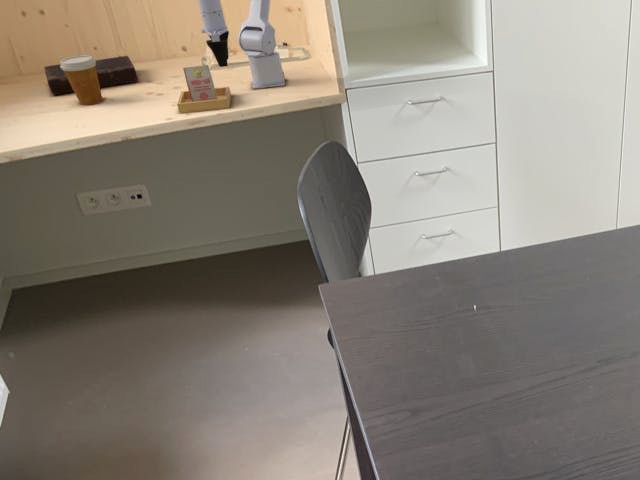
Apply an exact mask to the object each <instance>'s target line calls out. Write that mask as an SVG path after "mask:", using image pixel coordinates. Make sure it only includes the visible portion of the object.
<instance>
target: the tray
mask: <svg viewBox="0 0 640 480" xmlns="http://www.w3.org/2000/svg"><path fill="white" fill-rule="evenodd" d="M215 91H216V95H217V99H215V100H206V101H196V102H192V100H191V97H190V93H189V90H184V91H183V90H182V91H180V95H179V98H178V100H177V103H176V105H177V108H178V112H179V114H185V113H186V114H187V113H192V112H194V113H195V112H203V111H204V112H205V111H212V110H213V111H214V110H222V109H229V108H230V105H231V99H232V93H231V88H230V86H222V87H215Z"/></svg>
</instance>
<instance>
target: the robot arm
mask: <svg viewBox="0 0 640 480" xmlns="http://www.w3.org/2000/svg"><path fill="white" fill-rule="evenodd" d="M197 3H198V7H199V12H200V15H201V19H202V23H203V27H204V28H201V29H200V33H201V34H207V35H208V37H209V38H210V39H207V40H206V41H205V44H206V45H207V46H208V48H209V49H210V50H211V52H212V54H213V56H214V58H215V60H216V63H217V65H218V67H220V68H222V67H228V60H229V45H228V44H229V43H228V42H229V34H230V32H229V30H228V26H227V23H226V21H225V16H224V13H223V8H222V4H221V0H197ZM270 8H271V0H250V4H249V13H248V17H247V18H246V19H245V20H244V21H243V22H242V23H241V28H240V30H239V32H238V36H237V42H238V46H239V48H240V49H241V50H242V51H243V52H244V55H245V56H247V59H248V63H249V69H250V71H251V76H252V89H253V90H255V89H265V88H273V87H282V86H283V87H284V86H285V85H286V84H285V78H286V75H285V72H284V71H283V66H282V60H281V57H280V52H275V49H276V46H277V41H276V29H275V28H274V27H273V25H272V24H271V23H270V22H269V16H270Z"/></svg>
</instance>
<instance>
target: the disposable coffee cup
mask: <svg viewBox="0 0 640 480" xmlns="http://www.w3.org/2000/svg"><path fill="white" fill-rule="evenodd" d="M95 63H96V61H95V59H94V57H93V56H92V55H87V54H86V55H85V54H84V55H74V56H69V57H66V58H62V59H61V60H60V64H61V66H60V67H61V68H62V70H64V72H65V74H66V76H67V78H68V80H69V82H70V84H71V86H72V88H73V90H74V91H73V92H74V94H75V96H76V98H77V100H78V102H79V104H80V105H84V106H87V105H88V106H89V105H94V104H98V103H101V102H103V96H102V90H101V87H100V85H99V81H98V76H97V71H96V67H95V65H96V64H95Z"/></svg>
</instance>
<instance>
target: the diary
mask: <svg viewBox="0 0 640 480" xmlns="http://www.w3.org/2000/svg"><path fill="white" fill-rule="evenodd" d="M94 60H95V59H94ZM95 61H96V63H95V64H96V65H95V67H96V71H97V76H98V81H99V85H100V88H103V87H104V88H105V87H109V86H115V85H118V84H119V85H120V84H127V83H135V82H139V78H138V74H137V71H136V68H135V66H134V64H133V62H132V60H131V59H130V57H129V56H128V55H122V56H116V57H109V58H102V59H96V60H95ZM60 66H61V63H59V64H52V65H47V66H44V67H43V68H44V73H45V77H46V81H47V84H48V87H49V90H50V92H51V95H53V96H56V95H60V94H67V93H71V92H74V90H73V88H72V86H71V84H70V82H69V80H68V78H67V76H66V74H65V72H64V70H62V68H61V67H60Z"/></svg>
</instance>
